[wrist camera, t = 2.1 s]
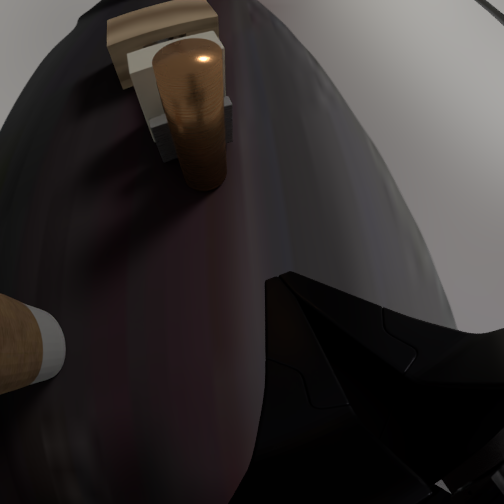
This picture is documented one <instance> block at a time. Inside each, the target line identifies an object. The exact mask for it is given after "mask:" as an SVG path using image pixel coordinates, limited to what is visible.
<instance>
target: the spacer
mask: <svg viewBox="0 0 504 504" xmlns="http://www.w3.org/2000/svg"><path fill="white" fill-rule="evenodd" d="M189 38H202V39H207V40H211V41H213V42H215V43H217V44H218V45H219V46H220V47H221V49H222V58H223V92H224V97H226V90H225V48H224V47H223V45H222V43H221V42H220V40H219V39H218V37H217V35H216V34H215V32H214V31H209V32H204V33H199V34H195V35H190V36H186V37H182V38H178V39H174V40H170V41H166V42H163V43H159V44H156V45H153V46H149V47H146V48H143V49H140V50H137V51H134V52H131V53H128V54H127V59H128V66H129V73H130V77H131V80H132V82H133V85H134V88H135V91H136V94H137V97H138V100H139V102H140V105H141V108H142V111H143V114H144V116H145V119H146V122H147V124H148V127H149V130H150V133H151V135H152V138H153V141H154V142H156V141H155V139H154V136H153V133H152V130H151V127H150V123H149V119H150V118H153V117H156V116H158V115H162V114H165V113H164V110H163V106H162V102H161V99H160V95H159V91H158V88H157V84H156V78H155V74H154V70H153V66H152V59H153V57H154V55H155V54H156V53H157V52H158V51H159V50H160V49H161V48H163V47H164V46H166V45H168V44H170V43H173V42H175V41H179V40H183V39H189Z"/></svg>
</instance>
